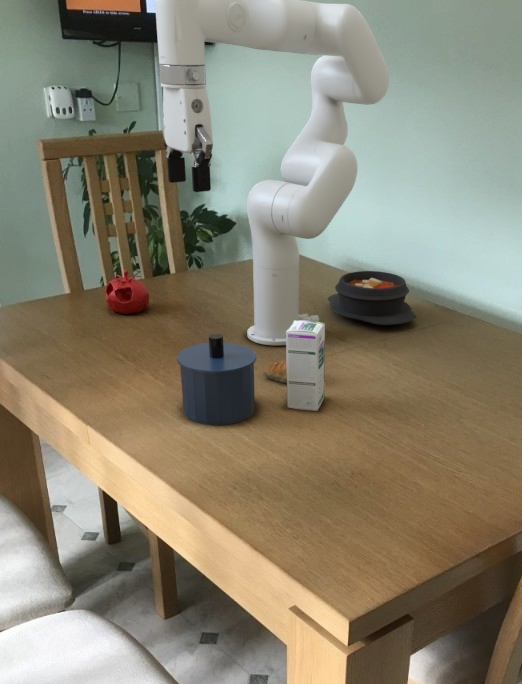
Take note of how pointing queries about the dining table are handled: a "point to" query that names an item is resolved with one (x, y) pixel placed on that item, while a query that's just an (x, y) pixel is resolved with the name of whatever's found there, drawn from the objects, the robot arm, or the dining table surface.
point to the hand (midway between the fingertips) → (189, 186)
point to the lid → (216, 356)
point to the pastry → (278, 371)
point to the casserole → (372, 298)
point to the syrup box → (305, 364)
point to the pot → (218, 396)
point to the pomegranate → (126, 294)
